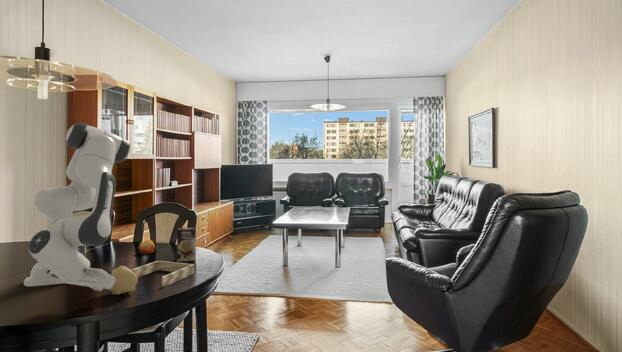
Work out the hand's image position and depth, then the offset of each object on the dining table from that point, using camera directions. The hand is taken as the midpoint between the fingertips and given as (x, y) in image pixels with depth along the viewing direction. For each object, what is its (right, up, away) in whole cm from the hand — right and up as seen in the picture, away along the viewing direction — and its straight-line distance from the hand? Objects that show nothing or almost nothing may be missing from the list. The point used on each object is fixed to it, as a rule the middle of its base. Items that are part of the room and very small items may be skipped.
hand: (99, 288), depth 128 cm
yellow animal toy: (+3, -5, +9) cm, 11 cm away
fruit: (-16, -3, +72) cm, 74 cm away
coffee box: (+10, -4, +59) cm, 60 cm away
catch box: (+9, -4, +29) cm, 31 cm away
